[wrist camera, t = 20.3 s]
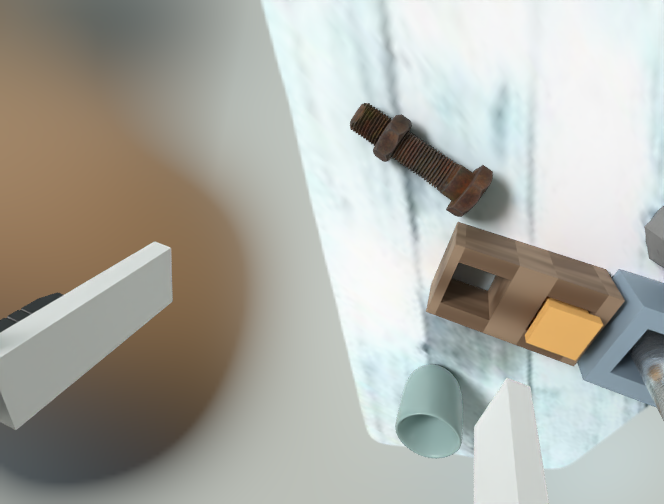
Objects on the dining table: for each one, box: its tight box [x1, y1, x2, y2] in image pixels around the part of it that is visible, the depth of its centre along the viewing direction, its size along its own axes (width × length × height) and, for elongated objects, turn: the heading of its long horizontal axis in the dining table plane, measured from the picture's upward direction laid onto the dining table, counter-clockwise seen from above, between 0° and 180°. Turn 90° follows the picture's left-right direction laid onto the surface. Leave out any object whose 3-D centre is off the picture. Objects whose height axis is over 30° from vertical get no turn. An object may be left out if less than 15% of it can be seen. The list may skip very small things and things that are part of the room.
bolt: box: [350, 103, 493, 217], centre depth 39 cm, size 6×5×15 cm
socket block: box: [426, 222, 625, 366], centre depth 41 cm, size 9×16×6 cm, turn 78°
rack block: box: [577, 269, 664, 407], centre depth 39 cm, size 10×9×7 cm
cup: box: [395, 364, 463, 458], centre depth 50 cm, size 8×8×10 cm
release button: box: [525, 296, 603, 361], centre depth 39 cm, size 5×5×7 cm
